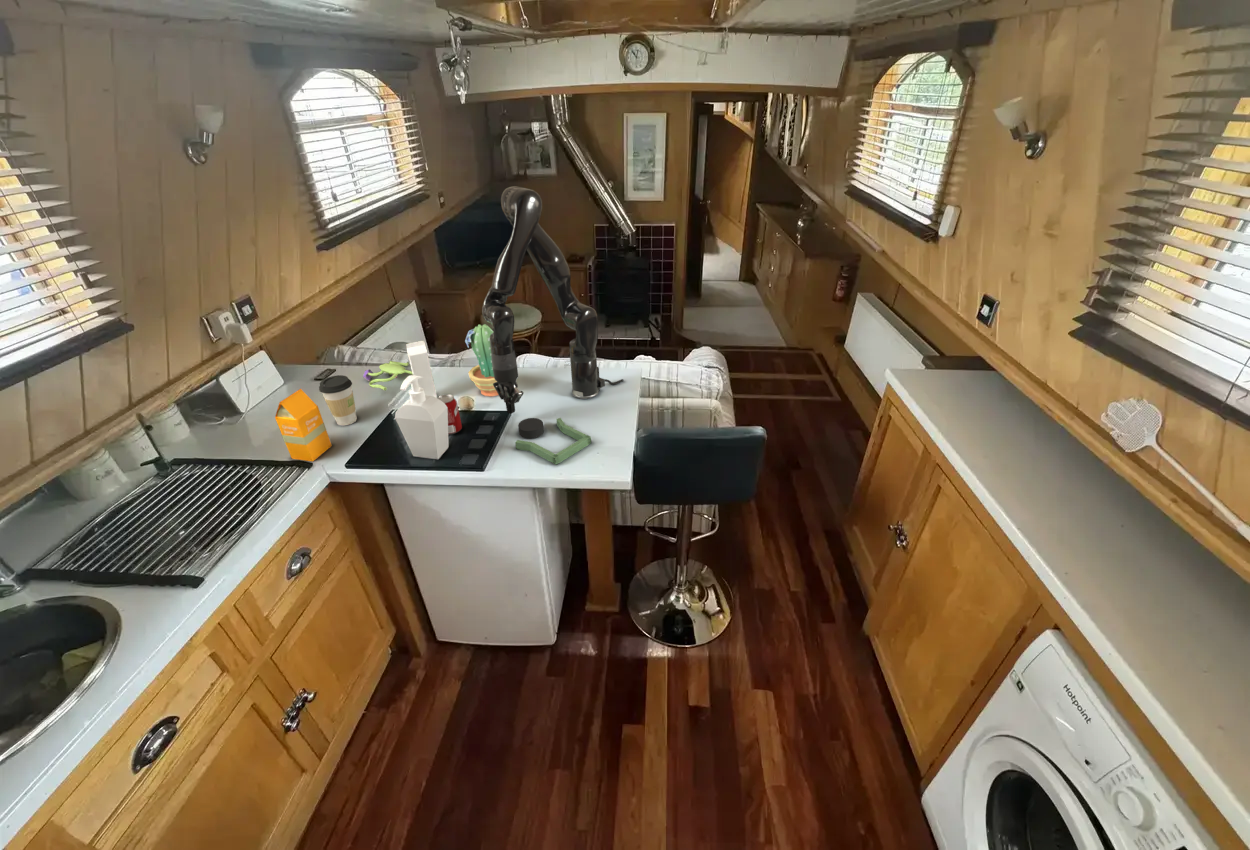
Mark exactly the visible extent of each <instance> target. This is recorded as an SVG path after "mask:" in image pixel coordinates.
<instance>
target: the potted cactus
mask: <svg viewBox="0 0 1250 850" xmlns="http://www.w3.org/2000/svg"><path fill="white" fill-rule="evenodd" d="M492 333H493V328H491V327H490V326H489V325H488V324H487V323H484V324H478V325H475V326H474V328H472V329H470V330H468V331H467V334H466V337H465V340H464V342H465V344H466V347H467V348H468V349H469V348H470V346H471V350H472V351H473V353H474V355H475V356H476V359H477V362H478V364H477V365H475V366H473V367H471V369H470V370H469V371H468V376H469V379H470V381H472V382H473V384H474V385H475V387H476V388H477V389H478V390H479V391H480V393H481V395H482V396H485V397H496V396H499V395H498V393H497V391H496V389H495V387H494V386H493V383H495V382H497V381H496V380H495V379H494V373H493V366H492V359H491V347H490V335H491V334H492ZM469 345H470V346H469Z"/></svg>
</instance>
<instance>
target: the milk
mask: <svg viewBox="0 0 1250 850" xmlns="http://www.w3.org/2000/svg"><path fill="white" fill-rule="evenodd" d="M405 347H406V353H407V356H408V362H409V366H410V369H411V371H412V374H413V375H416V376H423V378H419V379H417V380H418V384H419V387H420V388H423V389H424V393H425V395H429V396H433V397H435V398H437V397H438V395H437V390H436V386H435V382H434V381H435V380H434V376H433V371H432V367H431V363H430V357H429V354H428V350H427V346H426V342H425V340H419V341H413V342H409V343H406V344H405ZM412 374H411V375H412Z"/></svg>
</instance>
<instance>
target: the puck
mask: <svg viewBox="0 0 1250 850" xmlns="http://www.w3.org/2000/svg"><path fill="white" fill-rule="evenodd" d="M517 427H518V436H520V437H521V438H522V439H526V440H533V439H537V438H539V437H542V436H543V434H544V433H545V425H544V422H543V420H542V419H540V418H537V417H528V418H524V419H522V420H521V421H519V422H518V424H517Z"/></svg>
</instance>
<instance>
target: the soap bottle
mask: <svg viewBox="0 0 1250 850" xmlns="http://www.w3.org/2000/svg"><path fill="white" fill-rule="evenodd" d="M419 378H423V376H416V375H412V374H409V375H408V376H407V377H405V379H404V380H403V381H402V383H401V385H400V388H399V390H400V391H404V392H405V391H406V390H407V388H408V387H410V386H411V388H410V389H409V390H408V394H409V398H408V400H406V401H405V402H404V403H403V404H401V406H400V407H398V409H397V410H396V411H395V414H394V419H395V421H396V423H397V425H398V427H399V430H400V432H401V433H402V436H403V438H404V440H405V442H406V444H407V446H408V448H409V451H410V453H411V455H412V457H416V458H422V459H423V458H424V459H432V460H439V459H441V457H442V456H443V454H444V453H445V452H446V451H447V450H448V449H449V435H448V407H447V406H446V405H445V403H443V402H442V401H441V400H439V399H438V398H435V397H433V396H429V395H425V393H424V389H423V388H420V387H419V384H418V380H417V379H419Z"/></svg>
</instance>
